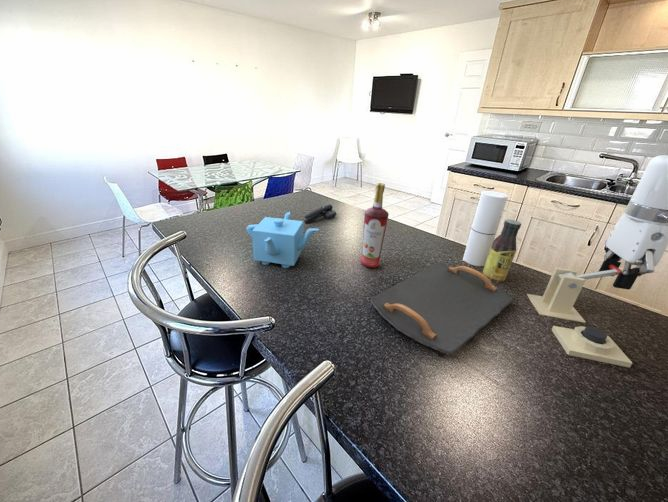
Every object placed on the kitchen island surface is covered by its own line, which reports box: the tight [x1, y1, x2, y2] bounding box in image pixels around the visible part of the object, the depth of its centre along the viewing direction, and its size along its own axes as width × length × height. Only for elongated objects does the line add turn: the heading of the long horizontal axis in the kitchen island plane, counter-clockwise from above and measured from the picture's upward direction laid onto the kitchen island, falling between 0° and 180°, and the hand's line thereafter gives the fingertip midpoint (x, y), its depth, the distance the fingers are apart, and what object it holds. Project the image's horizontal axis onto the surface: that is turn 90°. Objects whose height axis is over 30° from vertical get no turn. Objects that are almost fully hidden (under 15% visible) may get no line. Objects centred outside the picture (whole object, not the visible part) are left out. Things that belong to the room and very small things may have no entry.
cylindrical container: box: [462, 190, 509, 267], centre depth 97 cm, size 7×7×25 cm
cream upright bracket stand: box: [526, 267, 587, 324], centre depth 77 cm, size 10×9×12 cm
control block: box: [551, 325, 633, 368], centre depth 66 cm, size 11×8×4 cm
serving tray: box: [370, 263, 514, 358], centre depth 79 cm, size 39×23×6 cm, turn 126°
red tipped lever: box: [558, 265, 623, 282], centre depth 74 cm, size 12×5×2 cm, turn 72°
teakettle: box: [246, 211, 320, 269], centre depth 99 cm, size 19×19×15 cm
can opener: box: [303, 204, 337, 224], centre depth 134 cm, size 18×7×6 cm, turn 130°
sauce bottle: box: [482, 218, 522, 284], centre depth 89 cm, size 6×6×20 cm
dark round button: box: [582, 326, 608, 344], centre depth 65 cm, size 4×4×2 cm
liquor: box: [359, 182, 390, 269], centre depth 94 cm, size 7×7×28 cm
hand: (613, 280), depth 73 cm, fingers closed on red tipped lever, 5 cm apart
